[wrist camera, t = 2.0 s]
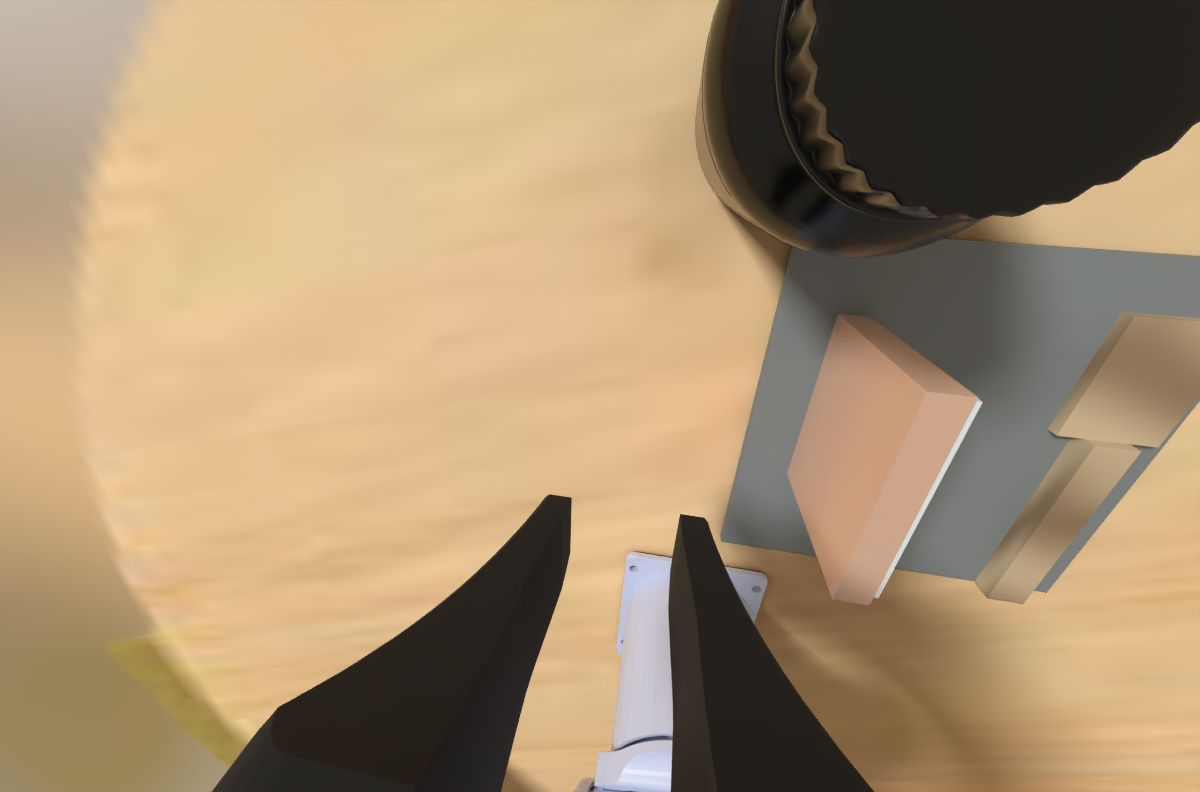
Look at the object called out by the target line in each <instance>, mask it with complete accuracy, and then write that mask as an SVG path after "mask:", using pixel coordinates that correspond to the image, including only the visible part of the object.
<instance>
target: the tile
mask: <svg viewBox="0 0 1200 792" xmlns="http://www.w3.org/2000/svg"><path fill="white" fill-rule="evenodd" d="M982 403H983V402H982V401H981V400H979V399H978V397H977V396H976V395H974V394H973V393H972V392H970V391H969V390H968V389H966V388H965V387H964V386H962V385H961V384H960V383H958V382H957V381H956V380H954V379H953V378H952V377H950V376H949V375H948V374H946V373H945V372H944V371H942V370H941V369H940V368H938V367H937V366H936V365H934V364H933V363H932V362H930V361H929V360H927V359H926V358H925V357H923V356H922V355H921V354H919V353H918V352H917V351H915V350H914V349H913V348H911V347H910V346H909V345H907V344H906V343H905V342H903V341H902V340H901V339H899V338H898V337H897V336H895V335H894V334H893V333H891V332H890V331H889V330H887V329H886V328H885V327H883V326H882V325H881V324H879V323H878V322H876V321H875V320H874V319H872V318H871V317H869V316H858V315H847V314H838V315H837V318H836V321H835V324H834V328H833V331H832V334H831V337H830V340H829V343H828V346H827V350H826V353H825V356H824V359H823V362H822V365H821V369H820V372H819V375H818V378H817V381H816V384H815V387H814V391H813V394H812V397H811V400H810V403H809V406H808V409H807V413H806V416H805V419H804V422H803V425H802V428H801V432H800V435H799V438H798V441H797V444H796V447H795V450H794V454H793V457H792V460H791V463H790V466H789V469H788V472H787V476H788V478H789V481H790V484H791V487H792V489H793V492H794V495H795V498H796V500H797V503H798V506H799V509H800V512H801V514H802V517H803V520H804V523H805V525H806V528H807V531H808V534H809V537H810V539H811V542H812V545H813V548H814V550H815V553H816V556H817V559H818V562H819V564H820V567H821V570H822V573H823V575H824V578H825V581H826V584H827V587H828V589H829V592H830V595H831V598H832V600H838V601H844V602H850V603H856V604H862V605H868V606H870V604H871V602H872V600H873V598H879V596H880V594H881V593H882V591H883V589H884V587H885V585H886V583H887V581H888V579H889V578H890V576H891V574H892V572H893V570H894V568H895V566H896V564H897V563H898V561H899V559H900V557H901V555H902V553H903V551H904V549H905V547H906V546H907V544H908V542H909V540H910V538H911V536H912V534H913V532H914V531H915V529H916V527H917V525H918V523H919V521H920V519H921V517H922V515H923V514H924V512H925V510H926V508H927V506H928V504H929V502H930V500H931V499H932V497H933V495H934V493H935V491H936V489H937V487H938V485H939V483H940V482H941V480H942V478H943V476H944V474H945V472H946V470H947V468H948V467H949V465H950V463H951V461H952V459H953V457H954V455H955V453H956V452H957V450H958V448H959V446H960V444H961V442H962V440H963V438H964V436H965V435H966V433H967V431H968V429H969V427H970V425H971V423H972V421H973V420H974V418H975V416H976V414H977V412H978V410H979V408H980V406H981V404H982Z"/></svg>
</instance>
